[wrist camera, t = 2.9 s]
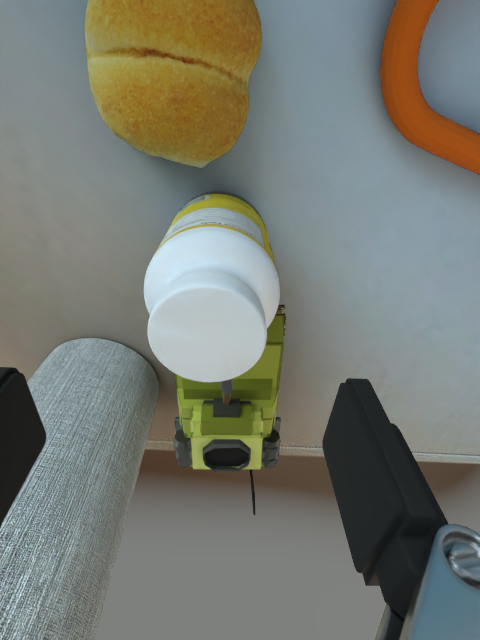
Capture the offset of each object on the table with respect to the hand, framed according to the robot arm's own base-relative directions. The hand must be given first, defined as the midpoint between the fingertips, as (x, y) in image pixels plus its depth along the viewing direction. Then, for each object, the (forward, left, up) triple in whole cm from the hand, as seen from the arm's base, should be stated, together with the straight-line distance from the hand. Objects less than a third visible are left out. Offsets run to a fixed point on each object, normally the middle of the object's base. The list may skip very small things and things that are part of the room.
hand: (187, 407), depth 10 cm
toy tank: (-2, +11, -15) cm, 19 cm away
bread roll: (+2, -9, -15) cm, 18 cm away
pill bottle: (0, 0, -15) cm, 15 cm away
